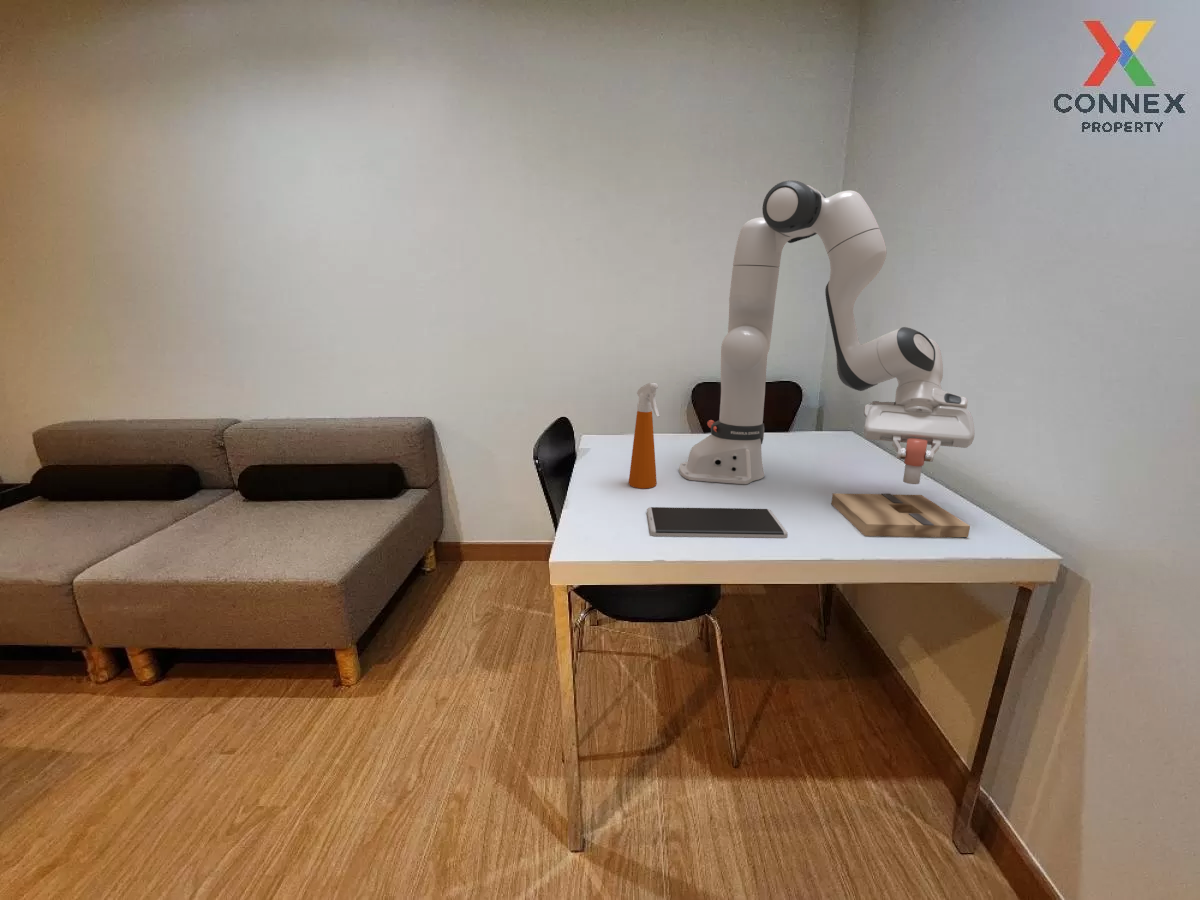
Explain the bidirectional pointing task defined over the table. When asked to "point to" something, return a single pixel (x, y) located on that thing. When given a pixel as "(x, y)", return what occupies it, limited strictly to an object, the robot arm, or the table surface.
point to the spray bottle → (644, 440)
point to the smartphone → (714, 522)
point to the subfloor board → (898, 516)
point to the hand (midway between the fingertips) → (915, 458)
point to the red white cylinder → (914, 460)
